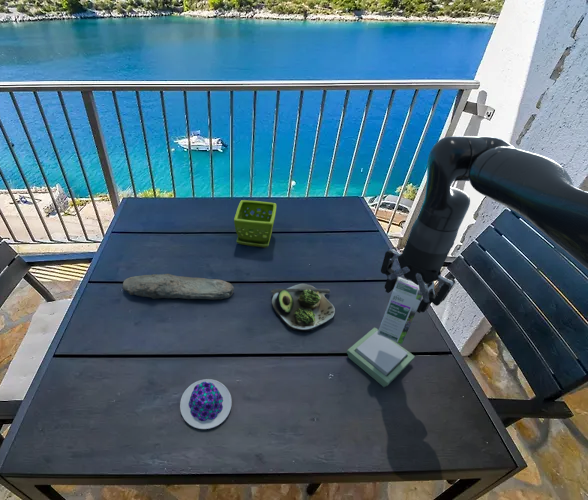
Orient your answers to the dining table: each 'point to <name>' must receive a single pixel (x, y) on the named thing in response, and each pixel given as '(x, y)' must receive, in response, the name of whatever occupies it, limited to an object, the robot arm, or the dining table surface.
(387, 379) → the scale
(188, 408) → the pudding
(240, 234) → the flower pot
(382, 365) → the pan
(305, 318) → the salad plate
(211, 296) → the elongated rock
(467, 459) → the dining table surface
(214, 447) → the dining table surface
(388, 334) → the syrup box
